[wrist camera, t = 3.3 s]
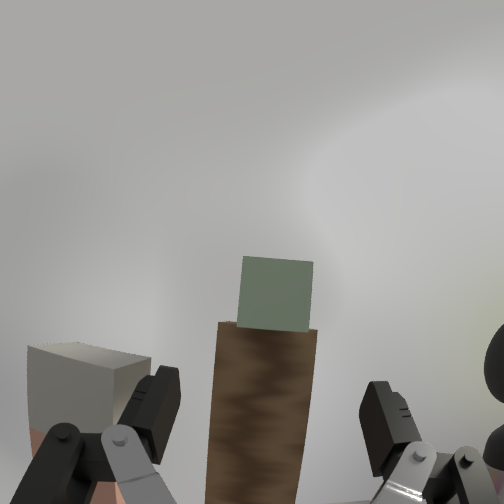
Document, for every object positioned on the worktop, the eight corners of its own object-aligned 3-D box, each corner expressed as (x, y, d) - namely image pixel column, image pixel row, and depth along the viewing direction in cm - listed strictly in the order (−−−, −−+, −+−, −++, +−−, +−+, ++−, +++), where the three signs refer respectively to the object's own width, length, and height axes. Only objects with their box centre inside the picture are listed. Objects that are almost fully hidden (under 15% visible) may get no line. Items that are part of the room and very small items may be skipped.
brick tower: (153, 568, 21) (151, 357, 27) (134, 606, 13) (114, 369, 19) (92, 548, 21) (77, 342, 27) (65, 580, 14) (27, 345, 19)
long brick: (280, 325, 39) (283, 293, 40) (308, 332, 17) (313, 261, 18) (248, 322, 39) (251, 290, 40) (236, 326, 18) (243, 256, 18)
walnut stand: (271, 548, 28) (301, 327, 35) (274, 593, 19) (317, 330, 25) (211, 543, 29) (229, 321, 35) (201, 588, 19) (218, 322, 25)
